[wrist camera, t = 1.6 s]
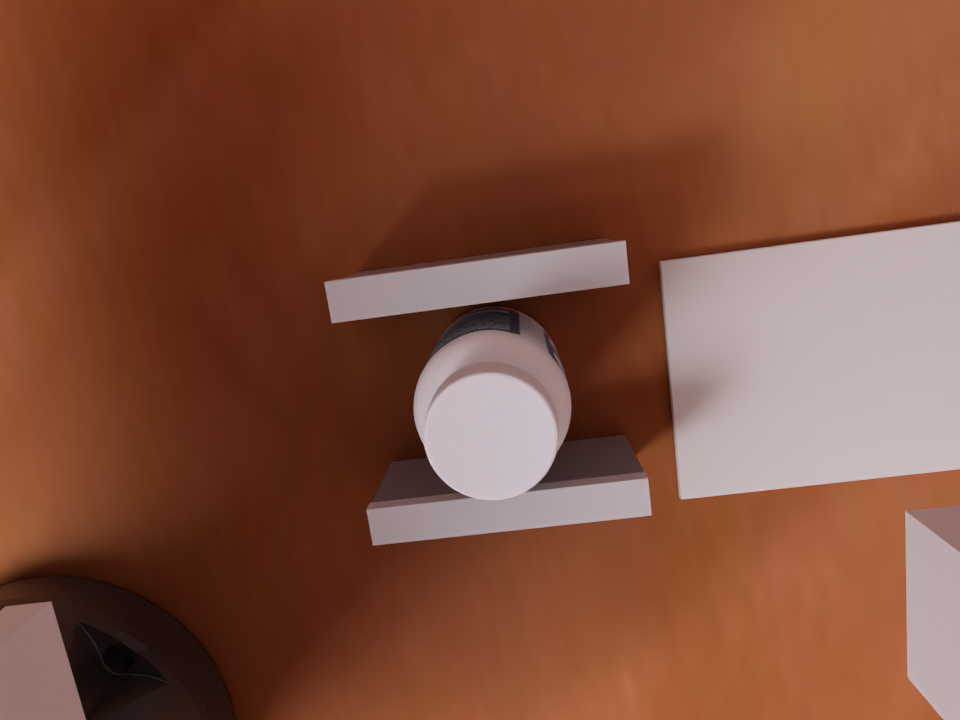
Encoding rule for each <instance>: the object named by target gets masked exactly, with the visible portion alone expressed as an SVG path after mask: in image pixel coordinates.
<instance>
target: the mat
mask: <svg viewBox="0 0 960 720" xmlns="http://www.w3.org/2000/svg"><path fill="white" fill-rule="evenodd" d="M659 268H660V280H661V292H662V303H663V315H664V327H665V338H666V350H667V362H668V373H669V385H670V397H671V409H672V420H673V432H674V444H675V455H676V467H677V479H678V490H679V497H680V498H681V500H682V499H691V498H700V497H709V496H718V495H727V494H737V493H746V492H755V491H764V490H773V489H782V488H791V487H801V486H810V485H819V484H828V483H837V482H846V481H856V480H865V479H874V478H883V477H892V476H901V475H910V474H920V473H929V472H938V471H947V470H956V469H960V221H954V222H946V223H939V224H931V225H924V226H917V227H909V228H902V229H894V230H887V231H879V232H872V233H865V234H857V235H850V236H842V237H835V238H828V239H820V240H813V241H805V242H798V243H790V244H783V245H776V246H768V247H761V248H753V249H746V250H739V251H731V252H724V253H716V254H709V255H701V256H694V257H687V258H679V259H672V260H664V261H659Z"/></svg>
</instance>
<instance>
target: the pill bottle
mask: <svg viewBox="0 0 960 720" xmlns="http://www.w3.org/2000/svg"><path fill="white" fill-rule="evenodd" d="M414 419H415V424H416V428H417V431H418V434H419V436H420V439H421V441H422V443H423V444H424V447H425V451H426V454H427V457H428V460H429V462H430V464H431V466H432V467H433V469H434V470H435V472H436V473H437V475H438V476H439V477H440V478H441V479H442V480H443V481H444V482H445V483H446V484H447V485H449V486H450V487H451V488H453V489H454V490H456V491H458V492H460V493H462V494H464V495H466V496H469V497H472V498H476V499H482V500H503V499H507V498H512V497H515V496H518V495H520V494H522V493H524V492H526V491H528V490H529V489H531V488H532V487H534V486H535V485H536V484H537V483H538V482H539V481H540V480H541V479H542V478H543V477H544V476H545V475H546V474H547V472H548V471H549V469H550V467H551V465H552V463H553V461H554V459H555V456H556V454H557V451H558V450H559V448H560V447H561V445H562V443H563V441H564V439H565V437H566V434H567V431H568V428H569V424H570V419H571V393H570V389H569V385H568V382H567V379H566V375H565V372H564V370H563V367H562V364H561V360H560V358H559V355H558V352H557V349H556V347H555V345H554V343H553V341H552V339H551V338H550V336H549V335H548V333H547V332H546V331H545V330H544V329H543V327H542V326H540V325H539V324H538V323H537V322H536V321H535V320H534V319H532V318H531V317H529V316H527V315H526V314H523V313H521V312H519V311H516V310H514V309H510V308H506V307H496V306H493V307H483V308H478V309H475V310H472V311H470V312H468V313H465V314H463V315H462V316H460V317H459V318H457V319H456V320H455V321H453V322H452V323H451V324H450V325H449V326H448V327H447V328H446V330H445V331H444V332H443V333H442V335H441V336H440V338H439V339H438V341H437V343H436V345H435V347H434V349H433V351H432V353H431V355H430V357H429V359H428V361H427V363H426V365H425V367H424V369H423V371H422V373H421V375H420V377H419V380H418V383H417V387H416V390H415V395H414Z"/></svg>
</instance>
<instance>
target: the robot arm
mask: <svg viewBox="0 0 960 720" xmlns="http://www.w3.org/2000/svg"><path fill="white" fill-rule="evenodd" d="M905 525H906V598H907V671H908V678H909V680H910V681H911V682H912V683H913V684H914V685H915V687H916V688H917V689H918V690H919V691H920V693H921V694H922V695H923V696H924V697H925V698H926V700H927V701H928V702H929V703H930V704H931V705H932V707H933V708H934V709H935V710H936V711H937V713H938V714H939V715H940V716H941V717H942V718H943V720H960V505H956V506H947V507H937V508H928V509H919V510H909V511H905ZM0 720H234V715H233V710H232V706H231V702H230V699H229V695H228V693H227V690H226V687H225V685H224V683H223V681H222V678H221V676H220V674H219V672H218V671H217V669H216V667H215V665H214V664H213V662H212V661H211V659H210V658H209V656H208V655H207V653H206V652H205V651H204V649H203V648H202V647H201V646H200V644H199V643H198V642H197V641H196V640H195V639H194V638H193V636H192V635H191V634H190V633H189V632H188V631H187V630H186V629H185V628H183V627H182V626H181V625H180V624H179V623H178V622H177V621H175V620H174V619H173V618H172V617H170V616H169V615H168V614H166V613H165V612H164V611H162V610H161V609H159V608H158V607H156V606H154V605H153V604H151V603H149V602H148V601H146V600H144V599H142V598H140V597H138V596H136V595H134V594H132V593H130V592H127V591H125V590H123V589H120V588H117V587H114V586H111V585H108V584H105V583H101V582H97V581H93V580H88V579H82V578H74V577H61V576H48V577H36V578H29V579H23V580H19V581H14V582H11V583H8V584H5V585H2V586H0Z"/></svg>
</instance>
